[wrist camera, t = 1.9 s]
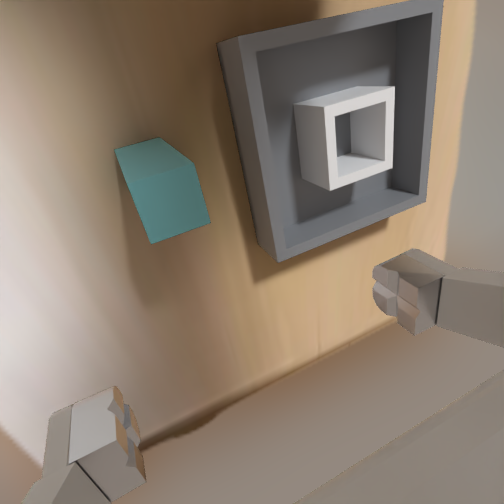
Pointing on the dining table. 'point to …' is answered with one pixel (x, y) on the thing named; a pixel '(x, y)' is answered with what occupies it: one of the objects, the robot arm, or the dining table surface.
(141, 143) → the connector peg
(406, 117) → the inlet box
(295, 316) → the dining table surface
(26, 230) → the dining table surface
